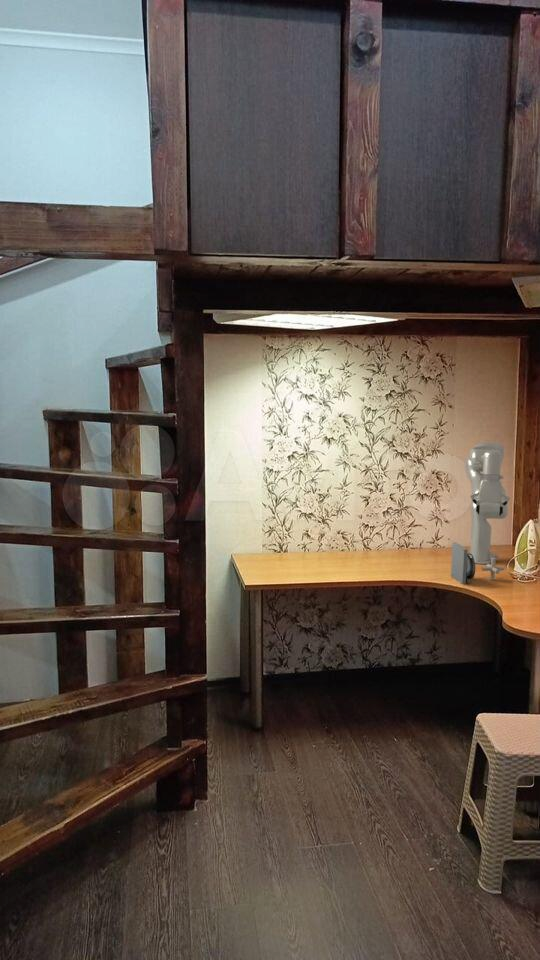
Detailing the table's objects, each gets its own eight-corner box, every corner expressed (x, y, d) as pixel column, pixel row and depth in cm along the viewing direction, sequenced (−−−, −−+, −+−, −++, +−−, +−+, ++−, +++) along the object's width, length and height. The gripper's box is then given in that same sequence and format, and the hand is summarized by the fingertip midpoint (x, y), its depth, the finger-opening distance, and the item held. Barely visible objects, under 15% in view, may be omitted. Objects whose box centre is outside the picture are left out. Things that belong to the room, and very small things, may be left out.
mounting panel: (462, 575, 304) (464, 542, 301) (474, 584, 291) (476, 549, 289) (450, 576, 303) (452, 542, 301) (462, 584, 290) (464, 549, 288)
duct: (463, 574, 303) (465, 550, 301) (474, 582, 292) (476, 556, 290) (454, 575, 302) (455, 550, 301) (465, 582, 291) (466, 557, 289)
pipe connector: (477, 576, 303) (478, 555, 302) (498, 576, 304) (499, 555, 303) (486, 582, 293) (487, 561, 292) (507, 582, 294) (509, 560, 293)
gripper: (511, 478, 303) (509, 514, 305) (472, 476, 309) (470, 512, 311) (511, 479, 296) (508, 517, 298) (471, 477, 302) (469, 514, 304)
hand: (489, 514), depth 305 cm, fingers open, 9 cm apart
